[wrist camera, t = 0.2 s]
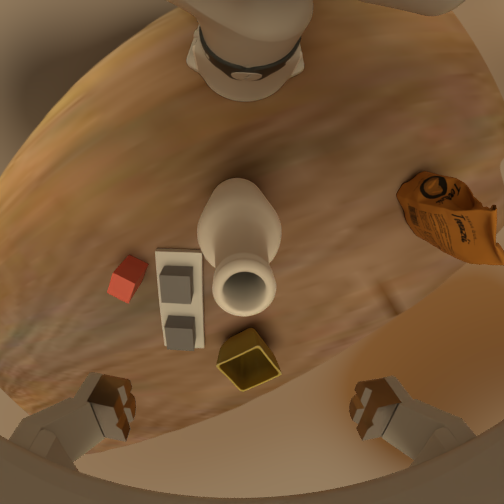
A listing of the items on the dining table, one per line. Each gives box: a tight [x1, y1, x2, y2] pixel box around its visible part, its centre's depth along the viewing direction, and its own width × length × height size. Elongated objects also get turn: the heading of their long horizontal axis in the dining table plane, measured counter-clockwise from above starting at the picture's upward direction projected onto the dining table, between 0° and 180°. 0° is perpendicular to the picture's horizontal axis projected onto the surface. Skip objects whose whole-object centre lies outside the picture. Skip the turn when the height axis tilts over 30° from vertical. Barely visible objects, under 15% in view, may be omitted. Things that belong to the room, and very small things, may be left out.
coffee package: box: [397, 171, 504, 265], centre depth 37 cm, size 10×12×22 cm
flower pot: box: [216, 328, 282, 392], centre depth 51 cm, size 9×9×9 cm
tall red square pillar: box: [107, 255, 149, 303], centre depth 44 cm, size 4×4×8 cm
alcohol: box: [197, 178, 282, 316], centre depth 31 cm, size 9×9×30 cm
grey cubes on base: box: [155, 248, 205, 351], centre depth 48 cm, size 20×8×6 cm, turn 177°
